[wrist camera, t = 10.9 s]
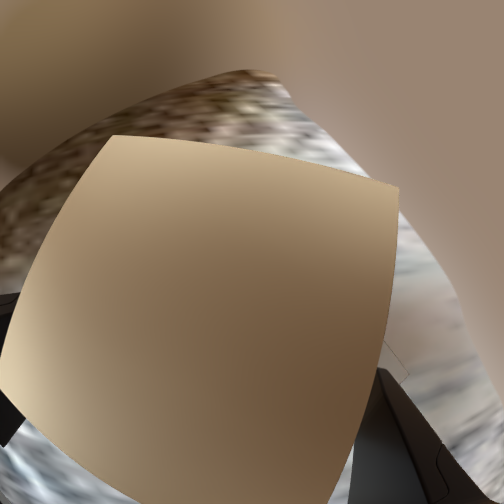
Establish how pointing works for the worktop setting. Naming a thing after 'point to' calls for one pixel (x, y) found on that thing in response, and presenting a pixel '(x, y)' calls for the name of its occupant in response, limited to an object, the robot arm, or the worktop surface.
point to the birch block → (206, 322)
